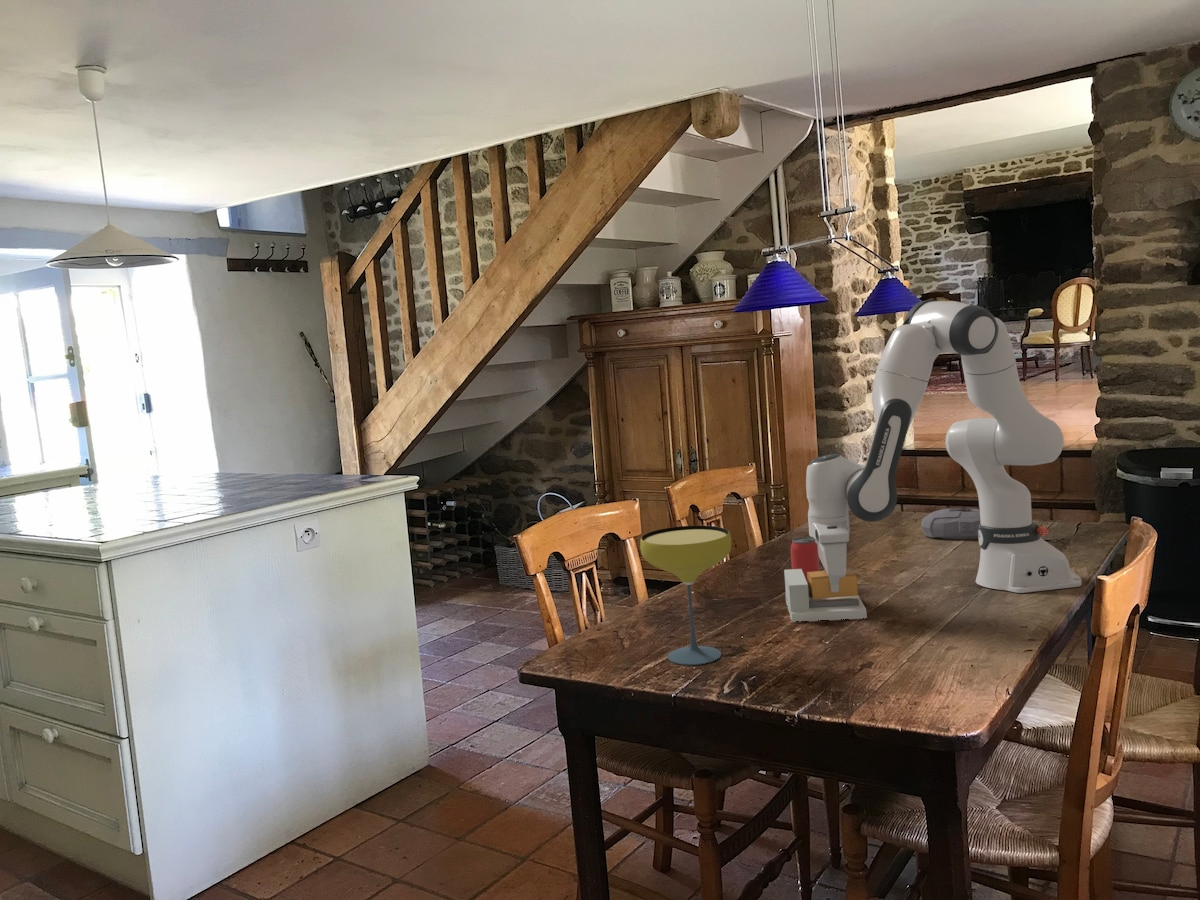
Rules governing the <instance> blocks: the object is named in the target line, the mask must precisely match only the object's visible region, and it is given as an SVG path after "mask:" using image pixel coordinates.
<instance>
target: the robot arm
mask: <svg viewBox="0 0 1200 900" xmlns="http://www.w3.org/2000/svg"><path fill="white" fill-rule="evenodd" d="M941 353H950V354H959V355H960V358H961V366H962V372H963V375H964V376H963V377H964V382H965V388H966V392H967V397H968V400H969V401H970V403H972V405H973V406H974V407H976V408H977V409H979V410H981V411H984V412H986V413H987V414H989V415H990V416H991V417H975V418H974V417H973V418H968V419H963V420H958V421H956V422H953V423H952V424H951V425H950V427H949V428H948V430H947V432H946V435H945V439H944V440H945V449H946V452H947V454H948V455H949V456H950V458H952V459H953V461H954V462H956V463H957V464H959V465H960V466H961V467H962V468H963V469H964V471H966V472H967V474H968V475H969V477H970V478H971V480H972V481H973V484H974V486H975V490H976V493H977V497H978V498H977V499H978V507H979V508H978V509H980V523H979V530H978V537H979V539H978V544H979V545H978V546H979V548H980V552H979V554H980V556H979V562H978V563H979V565H978V568H977V574H976V578H975V583H976V584H977V585H979V586H981V587H984V588H988V589H994V590H1000V591H1008V592H1011V593H1018V594H1025V593H1032V592H1041V591H1043V592H1044V591H1051V590H1052V591H1053V590H1059V589H1069V588H1076V587H1077V588H1078V587H1081V586H1082V585H1083V583H1082V578H1081V577H1080V576H1079V575H1078V574H1077V573H1076V572H1073V571H1071V567H1070V563H1069V561H1068V558H1067V557H1066V555H1065V554H1064V553H1063V552H1061V551H1060V550H1059V549H1058V548H1056V547H1055V546H1053V545H1051V544H1050V543H1049V542H1047V541H1046V540H1044V539H1042V538H1041V537H1046V536H1047V535H1048V534H1049V529H1048V528H1047V527H1045V526H1044V525H1039V524H1037V523H1035V522H1033V519H1032V497H1031V492H1030V490H1029V489H1028V488H1027V486H1026V485H1024V484H1023V483H1022V482H1020V481H1018V480H1017V479H1015V478H1013V477H1012V476H1010V475H1009V473H1008V472H1007V471H1006V469H1005V466H1028V467H1029V466H1039V465H1043V464H1044V465H1045V464H1050V463H1053V462H1055V461H1056V460H1057V459H1058V458H1059V457H1060V455H1061V453H1062V450H1063V448H1064V441H1065V440H1064V439H1065V438H1064V435H1063V432H1062V429H1061V428H1060V426H1059V425H1058V424H1057V423H1056V422H1055V421H1054V420H1051V419H1050V418H1049V417H1046V416H1045V415H1043V414H1042V413H1040V411H1038V410H1037V409H1036V407H1034V406H1033V405H1032V403H1030V401H1029V400H1028V398H1027V397H1026V395H1025V392H1024V391H1023V389H1022V385H1021V380H1020V376H1019V372H1018V366H1017V360H1016V356H1015V351H1014V346H1013V343H1012V340H1011V336H1010V335H1009V332H1008V329H1007V326H1006V324H1005V322H1003V321H1002V320H1001V319H1000V318H998V317H995V316H994V315H993V314H992V313H991V312H990V311H989V310H988V309H986V308H984V307H982V306H979V305H976V304H975V305H974V304H969V303H966V302H960V301H955V300H951V301H949V300H936V299H927V300H922V301H920V302H917V303H916V304H914V305H913V306H912V307H911V308H910V310H909V311H908V313H907V314H906V316H905V319H904V321H903V323H902V325H899V326H898V327H896V328H895V329H894V330H893V332H892V333H891V335H890V337H889V339H888V340H887V343H886V345H885V346H884V348H883V351H882V353H881V355H880V356H881V357H880V359H879V362H878V363H877V364H878V365H877V368H876V372H875V375H874V379H873V384H872V390H871V403H872V407H873V412H874V418H875V419H874V422H875V423H874V424H875V425H874V433H873V437H872V441H871V444H870V448H869V451H868V455H867V458H866V462H865V465H863V464H860V463H856V462H854V461H851V460H849V459H847V458H846V457H844V456H842V455H841V454H839V453H830V454H825V455H824V454H823V455H822V456H821V455H820V456H818V457H814V458H813V459H812V460H811V461H810V462H809V463H808V465H807V467H806V474H805V490H806V491H805V492H806V499H807V500H808V501H807V502H808V511H807V520H808V535H809V537H811V538H814V539H815V542H816V544H817V547H818V557H819V561H821V564H822V566H823V568H824V571H826V572H827V574H828V577H829V578H830V590H831V592H838V591H839V579H840V578H841V577H845V574H846V569H847V556H848V555H847V550H848V549H847V543H848V542H849V541H850V533H851V531H850V516H849V515H850V514H849V510H850V511H851V513H852V514H853V515H854V516H855V517H856V518H858V519H859V520H862V521H863V522H864V521H865V522H868V523H869V522H872V523H874V522H879V521H882V520H884V519H886V518H888V517H889V516H891V515H892V513H893V512H894V510H895V508H896V506H897V504H898V503H897V502H898V493H897V486H896V473H897V469H898V466H899V463H900V458H901V454H902V451H903V448H904V444H905V441H906V437H907V434H908V431H909V428H910V427H911V424H912V422H913V420H914V418H915V415H916V413H917V411H918V409H919V407H920V405H921V403H922V400H923V398H924V396H925V393H926V390H927V388H928V384H929V380H930V378H931V374H932V370H933V366H934V363H935V360H936V359H937V357H938V356H939V355H940V354H941Z"/></svg>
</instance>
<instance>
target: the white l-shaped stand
mask: <svg viewBox="0 0 1200 900" xmlns="http://www.w3.org/2000/svg"><path fill="white" fill-rule="evenodd" d="M783 571H784V573H783V574H784V586H785V603H786V606H788V607H787V610H788V612H789V613H790V614H789V613H788V614H789V617H790V621H791V620H792V621H791V623H797V622H796V621H799V622H798V623H802V622H801V621H809V622H821V621H820V620H829V621H846V620H845V619H849V620H864V619H865V618H867V619H868V615H867V608H866V607H865V605H864V603H863V601H862V600H861V598H860V596H859V595H858V596H846V597H834V598H822V599H812V597H811V596H810V595H809V593H808V584H807V581H806V579H805V576H804V574H803V571H802V569H792V568H790V569H783ZM863 618H864V619H863ZM841 619H842V620H841ZM843 619H844V620H843ZM818 620H819V621H818ZM865 620H866V619H865Z"/></svg>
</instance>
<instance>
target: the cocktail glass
mask: <svg viewBox="0 0 1200 900" xmlns="http://www.w3.org/2000/svg"><path fill="white" fill-rule="evenodd" d="M639 541H640V543H639V544H640V545H639V548H640V553H641V556H642V557H643V559H644V560H645V561H646V562H647V563H649V565H652V566H653V567H655V568H657V569H660V570H663V571H665V572H668V573H670V574H673V575H674V576H676V577H677V578H678V579H679V580H680V581H681V582H682V584H684V585H686V586H687V595H688V596H687V598H688V612H689V625H690V643H689V644H690V645H689V646H683V647H681V648H677V649H675V650H672V651H670V652H669V653H668V655H667V659H668V661H670V662H671V663H673V664H676V665H680V666H702V664H703V665H706V663H708V664H711V663H713V661H714V662H715V660H716V661H718V660H719V659H720V658H721V657H722V652H721V650H720V649H718V648H715V647H711V646H708V645H707V646H705V645H703V646H702V645H698V643H697V639H696V638H697V637H696V634H695V633H696V632H695V623H694V622H695V621H694V615H693V614H694V613H693V601H692V589H691V586H692V585H693V584H694V583H695V582H696V580H697V578H698V577H699V576H700V575H701V574H702V573H704V572H705V571H707V570H709V569H711V568H713V567H714V566H716V565H717V564H719V563H720V562H721V561H724V559H725V558H727V556H728V555H729V554H730V552H731V550H732V536H731V533H730V531H729V530H728V529H727V528H725V527H724V528H723V527H720V526H713V525H682V526H673V527H672V526H671V527H666V528H665V527H664V528H660V529H655V530H653V531H648V532H647V533H644V534H643V535H642V536H641V537H640V540H639ZM717 659H718V660H717ZM710 662H711V663H710Z"/></svg>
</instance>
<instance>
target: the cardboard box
mask: <svg viewBox="0 0 1200 900" xmlns="http://www.w3.org/2000/svg"><path fill="white" fill-rule="evenodd" d="M857 574H858V573H856V571H855V570H853V568H852V567H851V568H846V574H845V577H841V578H840V579H839V591H838V592H831V590H830V578H829V577H828V574H827V572H826V571H825V570H819V571H815V572H807V579H808V593H809V595H810V596H811V597H812V599H822V598H834V597H846V596H859V592H858V591H859V590H858V589H859V588H858V577H857Z"/></svg>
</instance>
